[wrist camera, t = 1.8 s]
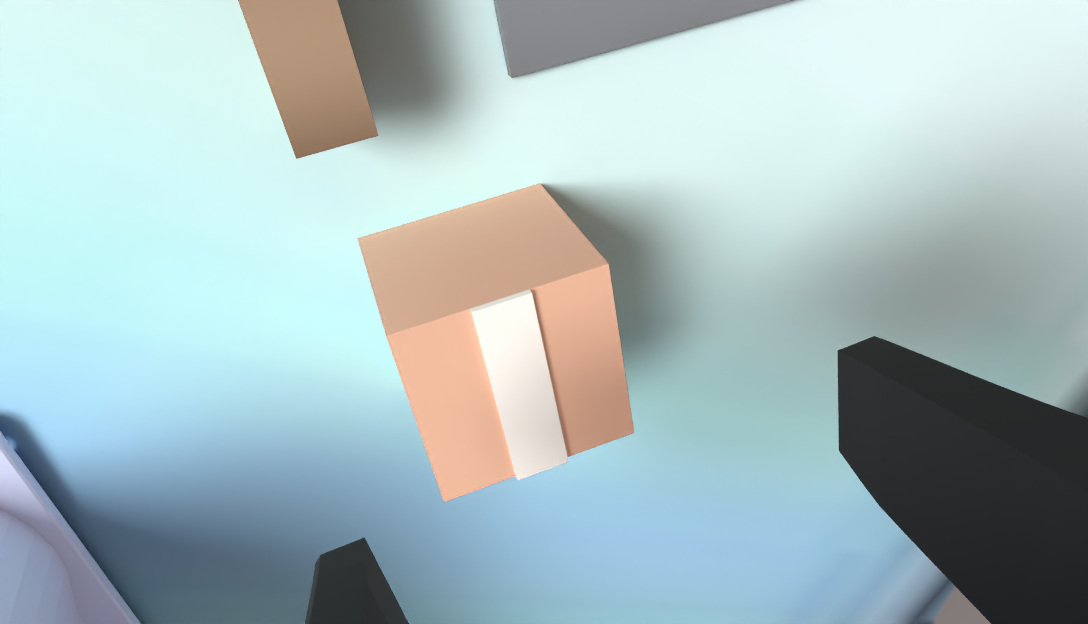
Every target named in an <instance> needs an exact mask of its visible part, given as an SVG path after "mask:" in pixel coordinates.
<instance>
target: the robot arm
mask: <svg viewBox="0 0 1088 624" xmlns="http://www.w3.org/2000/svg"><path fill="white" fill-rule="evenodd" d="M838 413H839V451H840V453H841V454H842V455H843V457H844V458H845V460H846V461H847V462H848V464H849V465H850V467H851V468H852V469H853V471H854V472H855V474H856V475H857V476H858V478H859V479H860V481H861V482H862V483H863V485H864V486H865V487H866V489H867V490H868V491H869V493H870V494H871V495H872V497H873V498H874V499H875V500H876V502H877V503H878V504H879V506H880V507H881V508H882V509H883V510H884V511H885V512H886V513H887V514H888V516H889V517H890V518H891V519H892V520H893V521H894V522H895V523H896V524H897V525H898V526H899V527H900V528H901V530H902V531H903V532H904V533H905V534H906V535H907V536H908V537H909V538H910V539H911V540H912V541H913V542H914V543H915V544H916V545H917V547H918V548H919V549H920V550H921V551H922V552H923V553H924V554H925V555H926V556H927V557H928V558H929V559H930V560H931V561H932V562H933V563H934V564H935V565H936V566H937V567H938V568H939V570H940V571H941V572H942V573H943V574H944V575H945V576H946V577H947V578H948V579H949V580H950V581H951V582H952V583H953V584H954V585H955V586H956V587H957V588H958V589H959V590H960V591H961V593H962V594H963V595H965V597H966V598H967V599H968V600H969V601H970V602H971V603H972V604H973V605H974V606H975V607H976V608H977V609H978V610H979V611H980V612H981V613H982V614H983V616H985V618H986V619H987V620H988V621H989V622H990V623H991V624H1088V418H1086V417H1083V416H1080V415H1077V414H1074V413H1071V412H1068V411H1066V410H1063V409H1060V408H1057V407H1054V406H1052V405H1049V404H1046V403H1043V402H1041V401H1038V400H1035V399H1033V398H1030V397H1027V396H1025V395H1022V394H1019V393H1017V392H1014V391H1011V390H1009V389H1006V388H1004V387H1001V386H998V385H996V384H993V383H991V382H988V381H986V380H983V379H981V378H978V377H976V376H973V375H971V374H968V373H966V372H963V371H961V370H958V369H956V368H953V367H951V366H948V365H946V364H944V363H941V362H939V361H936V360H934V359H931V358H929V357H926V356H924V355H921V354H919V353H916V352H914V351H911V350H909V349H906V348H904V347H901V346H899V345H896V344H894V343H891V342H889V341H886V340H883V339H880V338H878V337H875V336H874V337H871V338H869V339H866V340H863V341H861V342H858V343H856V344H853V345H851V346H848V347H846V348H843V349H841V350H838ZM0 624H141V623H140V622H139V620H138V619H137V618H136V616H135V615H134V614H133V612H132V611H131V609H130V608H129V607H128V605H127V604H126V603H125V601H124V600H123V598H122V597H121V596H120V594H119V593H118V592H117V590H116V589H115V588H114V586H113V585H112V583H111V582H110V581H109V579H108V578H107V577H106V575H105V574H104V572H103V571H102V570H101V568H100V567H99V566H98V564H97V563H96V561H95V560H94V559H93V557H92V556H91V555H90V553H89V552H88V551H87V549H86V548H85V546H84V545H83V544H82V542H81V541H80V540H79V538H78V537H77V535H76V534H75V533H74V531H73V530H72V529H71V527H70V526H69V524H68V523H67V522H66V520H65V519H64V518H63V516H62V515H61V514H60V512H59V511H58V509H57V508H56V507H55V505H54V504H53V503H52V501H51V500H50V498H49V497H48V496H47V494H46V493H45V492H44V490H43V489H42V487H41V486H40V485H39V483H38V482H37V481H36V479H35V478H34V477H33V475H32V474H31V472H30V471H29V470H28V468H27V467H26V466H25V464H24V463H23V461H22V460H21V459H20V457H19V456H18V455H17V453H16V452H15V451H14V449H13V448H12V446H11V445H10V444H9V442H8V441H7V440H6V438H5V437H4V435H3V434H2V433H1V431H0ZM305 624H409V623H408V621H407V619H406V618H405V616H404V614H403V612H402V610H401V608H400V606H399V604H398V602H397V600H396V598H395V596H394V594H393V592H392V590H391V588H390V586H389V584H388V582H387V581H386V579H385V577H384V575H383V573H382V571H381V569H380V567H379V565H378V563H377V561H376V559H375V557H374V555H373V553H372V551H371V549H370V547H369V545H368V544H367V542H366V540H365V538H362V539H360V540H357V541H355V542H352V543H350V544H347V545H345V546H342V547H340V548H337V549H334V550H332V551H329V552H327V553H324V554H322V555H320V557H319V559H318V560H317V562H316V564H315V571H314V577H313V584H312V590H311V595H310V601H309V606H308V611H307V616H306V621H305Z"/></svg>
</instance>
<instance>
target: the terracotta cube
mask: <svg viewBox="0 0 1088 624" xmlns="http://www.w3.org/2000/svg"><path fill="white" fill-rule="evenodd" d="M358 241H359V245H360V248H361V252H362V255H363V258H364V262H365V265H366V269H367V272H368V275H369V279H370V282H371V286H372V289H373V292H374V296H375V299H376V303H377V306H378V309H379V313H380V316H381V320H382V323H383V326H384V330H385V333H386V337H387V339H388V342H389V345H390V348H391V351H392V354H393V357H394V360H395V362H396V365H397V368H398V371H399V374H400V377H401V380H402V383H403V386H404V388H405V391H406V394H407V397H408V400H409V403H410V406H411V409H412V411H413V414H414V417H415V420H416V423H417V426H418V429H419V432H420V434H421V437H422V440H423V443H424V446H425V449H426V452H427V455H428V457H429V460H430V463H431V466H432V469H433V472H434V475H435V478H436V481H437V483H438V486H439V489H440V492H441V495H442V498H443V501H444V502H446V501H449V500H451V499H454V498H457V497H460V496H462V495H465V494H468V493H470V492H473V491H476V490H479V489H481V488H484V487H487V486H490V485H492V484H495V483H498V482H501V481H503V480H506V479H509V478H512V477H514V476H516V478H517V480H520V479H523V478H526V477H528V476H531V475H534V474H537V473H539V472H542V471H545V470H547V469H550V468H553V467H556V466H558V465H561V464H564V463H567V462H568V457H569V456H572V455H575V454H577V453H580V452H583V451H585V450H588V449H591V448H594V447H596V446H599V445H602V444H605V443H607V442H610V441H613V440H616V439H618V438H621V437H624V436H627V435H629V434H632V433H634V428H633V422H632V415H631V408H630V402H629V395H628V389H627V382H626V375H625V369H624V362H623V355H622V349H621V342H620V336H619V329H618V322H617V316H616V309H615V303H614V296H613V289H612V283H611V276H610V269H609V263H608V262H607V261H606V260H605V259H604V258H603V256H602V255H601V254H600V253H599V252H598V251H597V249H596V248H595V247H594V246H593V245H592V244H591V242H590V241H589V240H588V239H587V238H586V237H585V235H584V234H583V233H582V232H581V231H580V230H579V228H578V227H577V226H576V225H575V224H574V223H573V221H572V220H571V219H570V218H569V217H568V215H567V214H566V213H565V212H564V211H563V210H562V208H561V207H560V206H559V205H558V204H557V203H556V201H555V200H554V199H553V198H552V197H551V196H550V194H549V193H548V192H547V191H546V190H545V189H544V187H543V186H542V185H541V184H536V185H533V186H530V187H527V188H523V189H520V190H517V191H513V192H510V193H507V194H503V195H500V196H497V197H493V198H490V199H487V200H484V201H480V202H477V203H474V204H470V205H467V206H464V207H460V208H457V209H454V210H450V211H447V212H444V213H441V214H437V215H434V216H431V217H427V218H424V219H421V220H417V221H414V222H411V223H407V224H404V225H401V226H398V227H394V228H391V229H388V230H384V231H381V232H378V233H374V234H371V235H368V236H364V237H361V238H358Z"/></svg>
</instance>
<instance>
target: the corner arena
mask: <svg viewBox="0 0 1088 624" xmlns="http://www.w3.org/2000/svg"><path fill="white" fill-rule="evenodd" d="M238 1H239V4H240V7H241V9H242V12H243V15H244V18H245V20H246V23H247V26H248V28H249V31H250V34H251V37H252V39H253V42H254V45H255V48H256V50H257V53H258V56H259V58H260V61H261V64H262V67H263V69H264V72H265V75H266V77H267V80H268V83H269V86H270V88H271V91H272V94H273V96H274V99H275V102H276V105H277V107H278V110H279V113H280V115H281V118H282V121H283V124H284V126H285V129H286V132H287V134H288V137H289V140H290V143H291V145H292V148H293V151H294V154H295V156H296V159H297V158H301V157H304V156H308V155H311V154H315V153H319V152H322V151H326V150H329V149H333V148H336V147H340V146H343V145H347V144H350V143H354V142H358V141H361V140H365V139H368V138H372V137H375V136H378V133H377V129H376V126H375V123H374V120H373V116H372V113H371V110H370V106H369V103H368V100H367V96H366V93H365V90H364V87H363V83H362V80H361V77H360V73H359V70H358V67H357V63H356V60H355V57H354V53H353V50H352V47H351V44H350V40H349V37H348V34H347V30H346V27H345V24H344V20H343V17H342V14H341V11H340V7H339V4H338V1H337V0H238ZM789 1H792V0H494V5H495V10H496V15H497V20H498V25H499V30H500V35H501V40H502V45H503V50H504V55H505V60H506V65H507V70H508V75H509V76H510V77H511V78H515V77H518V76H522V75H525V74H529V73H533V72H536V71H540V70H544V69H547V68H551V67H554V66H558V65H562V64H565V63H569V62H572V61H576V60H580V59H583V58H587V57H590V56H594V55H598V54H601V53H605V52H608V51H612V50H616V49H619V48H623V47H626V46H630V45H634V44H637V43H641V42H644V41H648V40H652V39H655V38H659V37H663V36H666V35H670V34H673V33H677V32H681V31H684V30H688V29H691V28H695V27H699V26H702V25H706V24H709V23H713V22H717V21H720V20H724V19H727V18H731V17H735V16H738V15H742V14H745V13H749V12H753V11H756V10H760V9H763V8H767V7H771V6H774V5H778V4H781V3H785V2H789Z"/></svg>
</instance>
